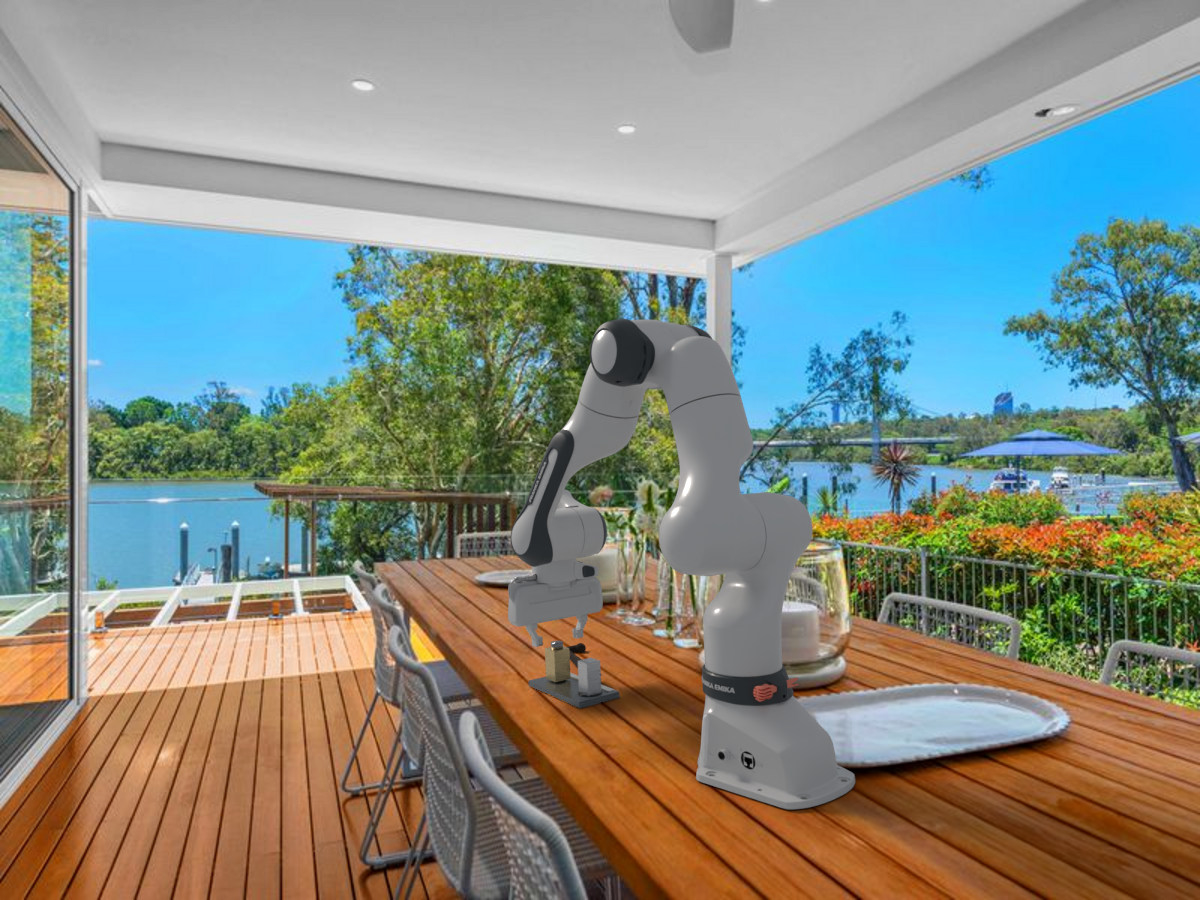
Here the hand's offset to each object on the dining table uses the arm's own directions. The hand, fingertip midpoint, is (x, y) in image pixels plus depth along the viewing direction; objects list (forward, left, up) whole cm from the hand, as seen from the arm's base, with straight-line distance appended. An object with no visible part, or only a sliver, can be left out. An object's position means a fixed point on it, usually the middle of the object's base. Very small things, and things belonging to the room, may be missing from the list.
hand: (558, 641), depth 155 cm
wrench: (+7, -11, -10) cm, 16 cm away
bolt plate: (-4, 0, -9) cm, 10 cm away
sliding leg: (+1, 0, -7) cm, 7 cm away
